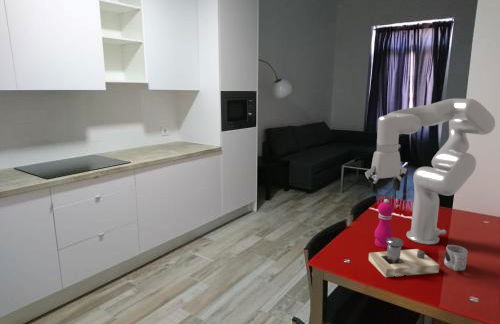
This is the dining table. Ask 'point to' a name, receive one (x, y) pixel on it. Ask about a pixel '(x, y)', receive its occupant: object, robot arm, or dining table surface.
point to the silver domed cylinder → (394, 250)
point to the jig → (404, 263)
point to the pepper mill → (384, 224)
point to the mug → (456, 257)
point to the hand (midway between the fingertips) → (385, 191)
